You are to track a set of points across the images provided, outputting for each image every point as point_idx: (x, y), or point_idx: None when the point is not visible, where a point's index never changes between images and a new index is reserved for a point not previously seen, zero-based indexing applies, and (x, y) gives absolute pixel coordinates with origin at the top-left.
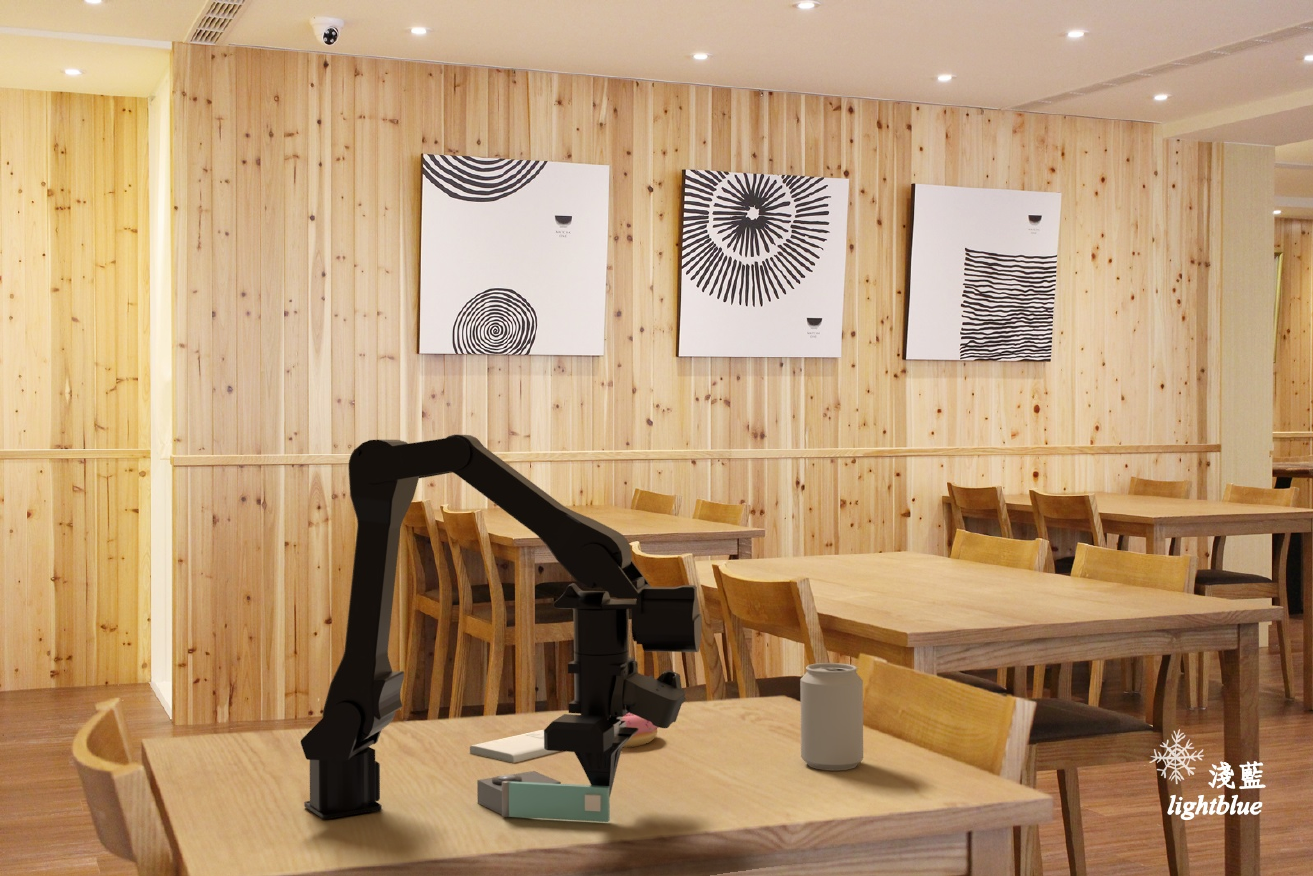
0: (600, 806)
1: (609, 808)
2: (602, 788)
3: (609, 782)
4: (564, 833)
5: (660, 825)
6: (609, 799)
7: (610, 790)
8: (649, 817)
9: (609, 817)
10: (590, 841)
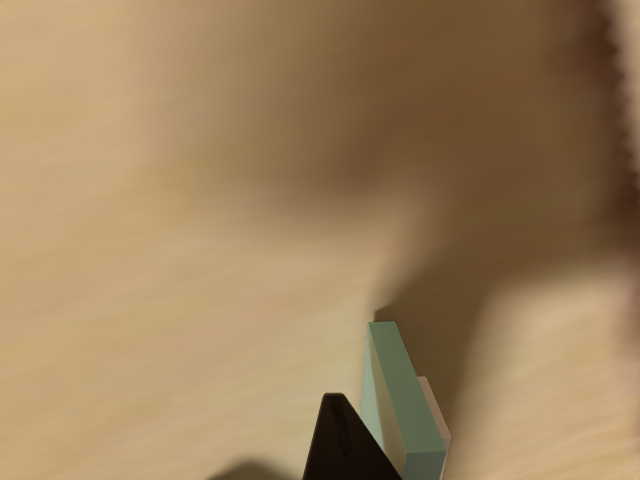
0: (425, 392)
1: (381, 357)
2: (441, 467)
3: (399, 476)
4: (502, 401)
5: (381, 97)
6: (386, 390)
7: (337, 427)
8: (251, 183)
9: (373, 330)
10: (602, 314)
